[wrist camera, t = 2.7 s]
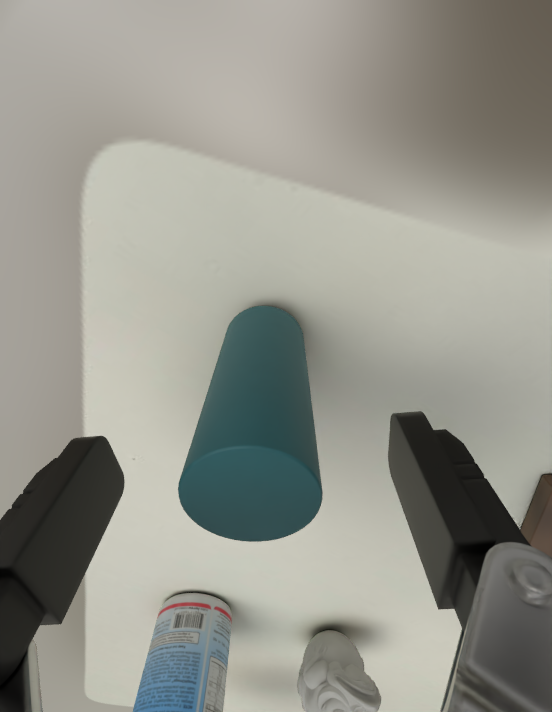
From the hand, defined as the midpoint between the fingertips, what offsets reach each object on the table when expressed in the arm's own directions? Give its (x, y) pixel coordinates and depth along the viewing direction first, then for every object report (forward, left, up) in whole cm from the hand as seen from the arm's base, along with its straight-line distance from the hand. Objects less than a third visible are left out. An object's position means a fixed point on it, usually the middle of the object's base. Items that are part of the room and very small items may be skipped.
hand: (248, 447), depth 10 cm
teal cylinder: (0, 0, -7) cm, 7 cm away
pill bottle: (+25, -9, -7) cm, 27 cm away
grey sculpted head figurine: (+30, +2, -7) cm, 31 cm away
